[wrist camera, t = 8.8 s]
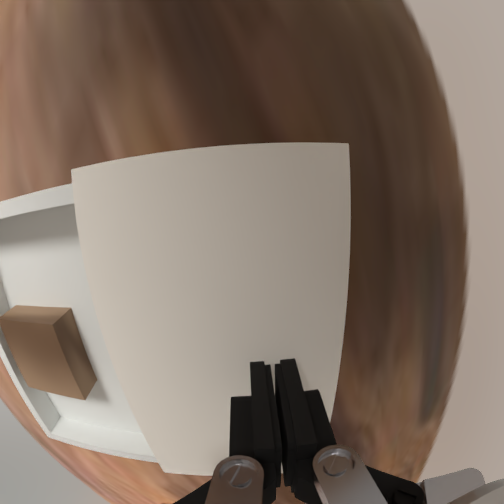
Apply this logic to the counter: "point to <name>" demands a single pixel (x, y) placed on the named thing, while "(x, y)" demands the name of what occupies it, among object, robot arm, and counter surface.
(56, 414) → the box
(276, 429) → the robot arm
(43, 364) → the walnut tile
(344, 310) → the platform
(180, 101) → the counter surface
